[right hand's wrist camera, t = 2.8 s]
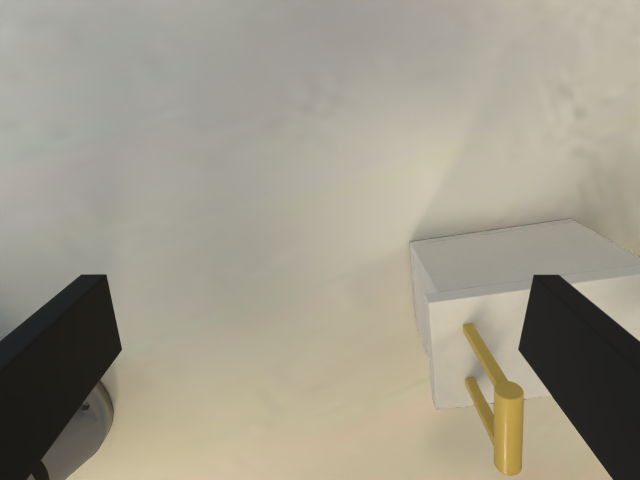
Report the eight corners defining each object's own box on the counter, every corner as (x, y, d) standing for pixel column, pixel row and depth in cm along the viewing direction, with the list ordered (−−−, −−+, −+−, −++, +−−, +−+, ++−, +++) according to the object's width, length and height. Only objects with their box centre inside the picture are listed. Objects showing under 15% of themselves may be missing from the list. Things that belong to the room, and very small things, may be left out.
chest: (416, 327, 42) (443, 396, 33) (409, 241, 39) (436, 291, 30) (565, 307, 41) (634, 373, 32) (571, 218, 38) (650, 262, 29)
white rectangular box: (431, 398, 33) (468, 503, 25) (424, 293, 30) (464, 376, 21) (635, 373, 32) (743, 474, 24) (651, 262, 29) (783, 336, 21)
